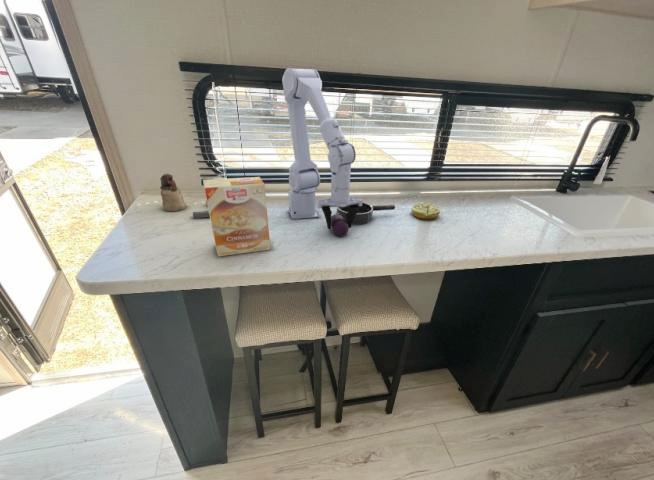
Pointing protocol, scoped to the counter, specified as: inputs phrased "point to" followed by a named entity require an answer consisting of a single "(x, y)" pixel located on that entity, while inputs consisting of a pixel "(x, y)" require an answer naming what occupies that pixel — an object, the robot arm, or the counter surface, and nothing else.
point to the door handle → (201, 214)
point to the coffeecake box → (238, 214)
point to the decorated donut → (425, 210)
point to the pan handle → (383, 207)
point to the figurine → (171, 194)
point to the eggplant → (339, 225)
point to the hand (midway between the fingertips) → (338, 227)
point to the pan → (358, 214)
